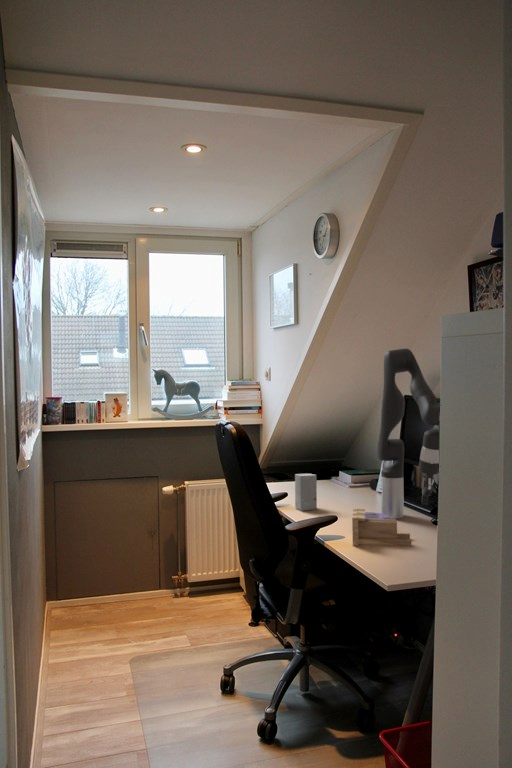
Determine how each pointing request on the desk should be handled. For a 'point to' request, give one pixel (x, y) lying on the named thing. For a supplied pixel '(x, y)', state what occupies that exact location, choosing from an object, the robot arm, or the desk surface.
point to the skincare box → (305, 492)
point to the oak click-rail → (401, 538)
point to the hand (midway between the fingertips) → (424, 504)
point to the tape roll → (374, 515)
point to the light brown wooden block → (378, 528)
